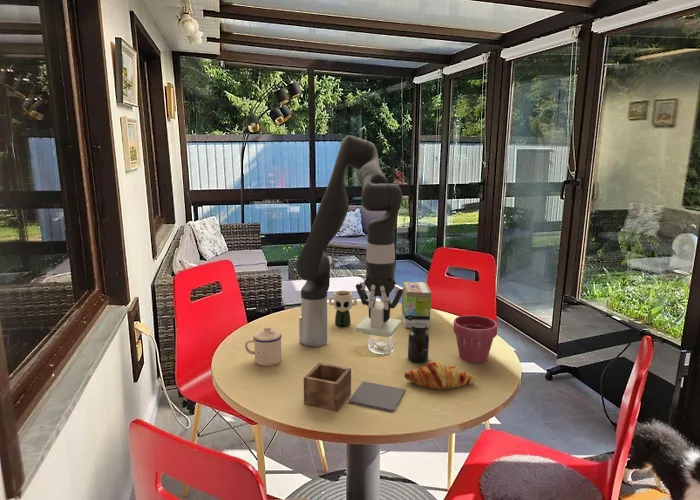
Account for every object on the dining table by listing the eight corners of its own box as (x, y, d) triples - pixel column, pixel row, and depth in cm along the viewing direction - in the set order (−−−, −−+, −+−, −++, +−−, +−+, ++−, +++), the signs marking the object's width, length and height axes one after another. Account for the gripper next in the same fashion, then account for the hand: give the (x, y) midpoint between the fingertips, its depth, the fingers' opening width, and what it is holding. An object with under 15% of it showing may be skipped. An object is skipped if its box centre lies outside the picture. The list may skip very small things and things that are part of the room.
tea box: (430, 328, 187) (432, 292, 184) (404, 328, 188) (405, 292, 184) (425, 315, 202) (426, 281, 199) (401, 315, 202) (402, 281, 199)
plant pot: (451, 347, 170) (453, 312, 167) (492, 350, 168) (495, 315, 165) (452, 365, 156) (454, 327, 154) (496, 369, 154) (499, 331, 151)
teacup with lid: (283, 354, 163) (282, 321, 161) (280, 366, 155) (280, 332, 152) (247, 354, 163) (246, 322, 160) (243, 366, 154) (241, 332, 152)
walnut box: (303, 404, 132) (303, 377, 130) (319, 387, 141) (318, 362, 139) (337, 411, 128) (337, 384, 127) (350, 394, 138) (351, 368, 136)
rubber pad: (348, 402, 133) (348, 400, 133) (362, 383, 144) (363, 381, 144) (393, 412, 129) (394, 409, 128) (405, 391, 140) (405, 389, 139)
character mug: (328, 327, 188) (328, 295, 185) (329, 320, 195) (329, 290, 192) (356, 328, 187) (356, 296, 185) (356, 321, 194) (357, 290, 191)
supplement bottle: (427, 364, 157) (429, 329, 154) (406, 362, 158) (407, 328, 155) (428, 355, 163) (430, 322, 161) (408, 353, 165) (409, 320, 162)
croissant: (471, 390, 148) (471, 363, 150) (480, 390, 138) (479, 362, 140) (402, 387, 148) (402, 361, 150) (406, 388, 138) (406, 359, 140)
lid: (355, 334, 129) (355, 309, 128) (367, 322, 138) (367, 298, 137) (391, 339, 126) (392, 314, 124) (401, 326, 135) (402, 302, 134)
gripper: (350, 260, 127) (350, 322, 131) (402, 264, 122) (400, 329, 126) (360, 254, 134) (359, 313, 137) (409, 258, 129) (407, 319, 133)
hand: (379, 320), depth 132 cm, fingers closed on lid, 3 cm apart
